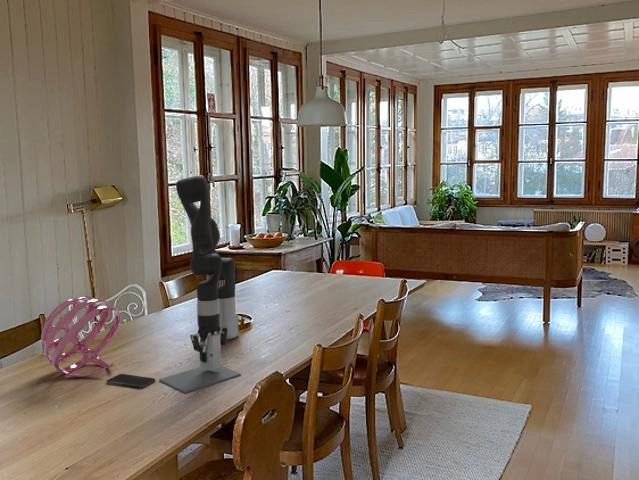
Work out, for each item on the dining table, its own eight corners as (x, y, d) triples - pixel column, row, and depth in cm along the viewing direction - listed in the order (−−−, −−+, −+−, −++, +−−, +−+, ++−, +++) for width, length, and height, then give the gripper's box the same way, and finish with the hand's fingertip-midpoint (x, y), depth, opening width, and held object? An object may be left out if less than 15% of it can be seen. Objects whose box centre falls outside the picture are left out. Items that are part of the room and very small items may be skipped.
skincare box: (199, 368, 210) (198, 334, 208) (208, 364, 214) (206, 331, 212) (213, 371, 207) (212, 336, 205) (222, 367, 210) (220, 333, 209)
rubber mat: (213, 364, 219) (213, 362, 219) (240, 375, 208) (240, 373, 208) (159, 380, 204) (159, 379, 204) (185, 393, 193) (184, 391, 193)
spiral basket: (150, 315, 213) (96, 269, 219) (87, 356, 191) (28, 303, 197) (134, 364, 229) (83, 320, 235) (74, 407, 207) (19, 357, 213)
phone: (141, 387, 197) (104, 381, 203) (141, 390, 197) (105, 384, 203) (156, 378, 204) (121, 373, 210) (157, 381, 204) (121, 376, 210)
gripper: (219, 306, 215) (221, 352, 217) (184, 314, 205) (186, 362, 207) (232, 309, 210) (233, 357, 212) (196, 318, 200) (198, 367, 202)
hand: (210, 359), depth 210 cm, fingers closed on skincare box, 5 cm apart
